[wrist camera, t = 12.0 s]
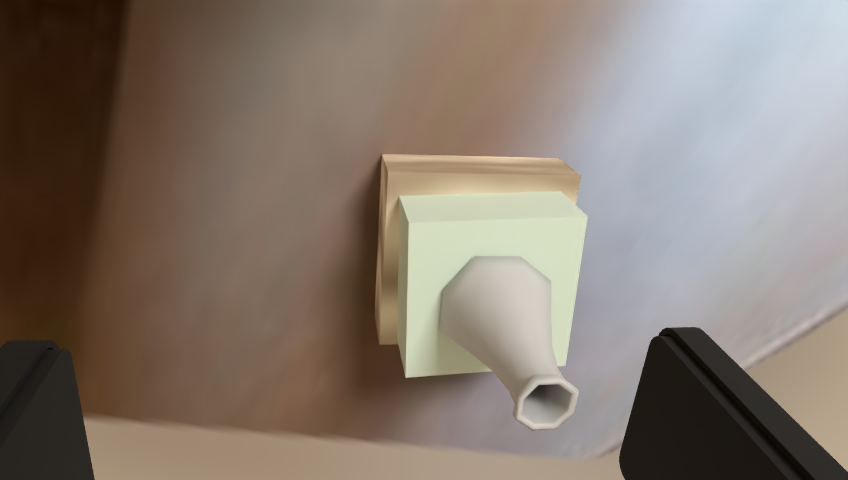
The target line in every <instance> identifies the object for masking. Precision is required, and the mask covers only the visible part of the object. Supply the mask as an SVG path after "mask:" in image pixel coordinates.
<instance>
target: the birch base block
mask: <svg viewBox="0 0 848 480" xmlns="http://www.w3.org/2000/svg"><path fill="white" fill-rule="evenodd" d="M580 178H581V175H579V174H578V173H577V172H576V171H575V170H573V169H572V168H571V167H570V166H568V165H567V164H566V163H565V162H564V161H562V160H561V159H560V158H525V157H484V156H444V155H404V154H382V163H381V185H380V207H379V229H378V251H377V273H376V295H375V321H376V327H377V333H378V339H379V345H389V344H398V340H397V329H398V256H399V196H416V195H451V194H486V193H521V192H557V191H561V192H562V193H563V194H564V195H566V196H567V197H568V198H569V199H570V200H571V201H572V202H573V203H574V204H575V205H576V200H577V194H578V189H579V183H580Z"/></svg>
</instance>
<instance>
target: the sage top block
mask: <svg viewBox="0 0 848 480" xmlns="http://www.w3.org/2000/svg"><path fill="white" fill-rule="evenodd" d="M587 217H588V216H587V215H586V214H584V213H583V212H582V211H581V210H580V209H579V208H578V207H577V206H576V205H575V204H574V203H573V202H572V201H571V200H570V199H569V198H568V197H567V196H566V195H564V194H563V193H562V192H561V191H557V192H521V193H486V194H451V195H416V196H399V256H398V329H397V340H398V345H399V349H400V354H401V359H402V363H403V368H404V373H405V377H406V378H408V377H421V376H435V375H448V374H461V373H475V372H488V371H492V370H491V369H489V368H488V367H487V366H486V365H484V364H483V363H482V362H481V361H480V360H478V359H477V358H476V357H475V356H473V355H472V354H471V353H470V352H469V351H467V350H466V349H464V348H463V347H462V346H460V345H459V344H458V343H456V342H455V341H454V340H452V339H451V338H449V337H448V336H447V335H446V334H444V333H443V332H442V331H441V330H439V327H440V317H441V308H442V298H443V290H444V288H445V287H446V286H447V285H448V284H449V283H450V282H451V281H452V280H453V279H454V278H455V277H456V276H457V275H458V273H459V272H460V271H461V270H462V269H463V268H464V267H465V266H466V265H467V264H468V263H469V262H470V261H471V260H472V258H473V257H474V256H521V257H522V258H523V259H524V260H526V261H527V262H528V263H529V264H531V265H532V266H533V267H534V268H536V269H537V270H538V271H539V272H541V273H542V274H543V275H544V276H546V277H547V278H548V279H549V280H551V325H552V347H553V351H554V354H555V358H556V362H557V365H558V366H565V365H566V358H567V351H568V344H569V338H570V331H571V324H572V318H573V311H574V304H575V298H576V291H577V284H578V278H579V271H580V264H581V258H582V251H583V244H584V238H585V231H586V224H587Z"/></svg>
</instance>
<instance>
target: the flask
mask: <svg viewBox="0 0 848 480" xmlns="http://www.w3.org/2000/svg"><path fill="white" fill-rule="evenodd" d="M439 330H441V331H442V332H443V333H444V334H446V335H447V336H448V337H449V338H451V339H452V340H454V341H455V342H456V343H458V344H459V345H460V346H462V347H463V348H464V349H466V350H467V351H469V352H470V353H471V354H472V355H473V356H475V357H476V358H477V359H478V360H480V361H481V362H482V363H483V364H484V365H486V366H487V367H488V368H489V369H491V370H492V371H493V372H494V373H495V374H496V375H497V377H498V378H499V379H500V380H501V382H502V383H503V384H504V385H505V387H506V388H507V389H508V390H509V392H510V394H511V396H512V398H513V401H514V403H515V405H514V411H513V416H514V418H515V419H516V420H517V421H519V422H520V423H522V424H523V425H525V426H526V427H528V428H529V429H531V430H550V429H557V428H558V427H559V426H560V425H561V424H562V423H563V422H565V421H566V420H567V419H568V418H569V417H570V416H571V415H572V414H573V413H574V411H575V407H576V402H577V398H578V393H579V391H578V389H577V388H576V387H575V386H573V385H572V384H570V383H569V382H568V381H566V380H565V379H564V378H563V376H562V374H561V373H560V371H559V369H558V365H557V362H556V358H555V354H554V351H553V347H552V325H551V280H549V279H548V278H547V277H546V276H544V275H543V274H542V273H541V272H539V271H538V270H537V269H536V268H534V267H533V266H532V265H531V264H529V263H528V262H527V261H526V260H524V259H523V258H522V257H521V256H474V257H473V258H472V260H471V261H470V262H469V263H468V264H467V265H466V266H465V267H464V268H463V269H462V270H461V271H460V272H459V273H458V275H457V276H456V277H455V278H454V279H453V280H452V281H451V282H450V283H449V284H448V285H447V286H446V287H445V288H444V290H443V298H442V308H441V317H440V327H439Z"/></svg>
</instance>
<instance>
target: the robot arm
mask: <svg viewBox="0 0 848 480" xmlns="http://www.w3.org/2000/svg"><path fill="white" fill-rule="evenodd" d="M619 462H620V468H621V472H622V474H623V476H624V478H625V480H848V472H847V471H846V470H845V469H844V468H843V467H842V466H841V465H840V464H839V463H838V462H837V461H836V460H835V459H834V458H833V457H832V456H831V455H830V454H829V453H828V452H827V451H826V450H824V448H823V447H821V446H820V445H819V444H818V443H817V442H816V441H815V440H814V439H813V438H812V437H811V436H810V435H809V434H808V433H807V432H806V431H805V430H804V429H803V428H802V427H801V426H800V425H799V424H798V423H797V422H796V421H795V420H794V419H793V418H792V417H791V416H790V415H789V414H788V413H787V412H786V411H785V410H784V409H783V408H781V406H780V405H778V403H777V402H775V401H774V400H773V399H772V398H771V397H770V396H769V395H768V394H767V393H766V392H765V391H764V390H763V389H762V388H761V387H760V386H759V385H758V384H757V383H756V382H755V381H754V380H753V379H752V378H751V377H750V376H749V375H748V374H747V373H746V372H745V371H744V370H743V369H742V368H741V367H740V366H739V365H738V364H737V363H736V362H735V361H734V360H733V359H731V358H730V357H729V356H728V355H727V354H726V353H725V352H724V351H723V350H722V349H721V348H720V347H719V346H718V345H717V344H716V343H715V342H714V341H713V340H712V339H711V338H710V337H709V336H708V335H707V334H706V333H705V332H704V331H703V330H701V329H700V328H696V327H682V328H665V329H663V330H662V331H661V332H660V333H659V336H656V337H654V338H653V339H652V340H651V342H650V345H649V348H648V352H647V356H646V359H645V363H644V367H643V370H642V374H641V378H640V381H639V385H638V389H637V392H636V396H635V400H634V403H633V407H632V411H631V414H630V418H629V422H628V425H627V429H626V433H625V436H624V440H623V444H622V447H621V451H620V456H619ZM0 480H94V474H93V469H92V463H91V458H90V453H89V447H88V442H87V437H86V431H85V426H84V420H83V415H82V410H81V404H80V399H79V393H78V388H77V383H76V377H75V372H74V367H73V361H72V357H71V354H70V352H69V351H68V350H66V349H62V350H59V348H58V346H57V344H56V342H55V341H53V340H19V341H8V342H6V343H5V344H4V345H3V346H2V347H1V348H0Z"/></svg>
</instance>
